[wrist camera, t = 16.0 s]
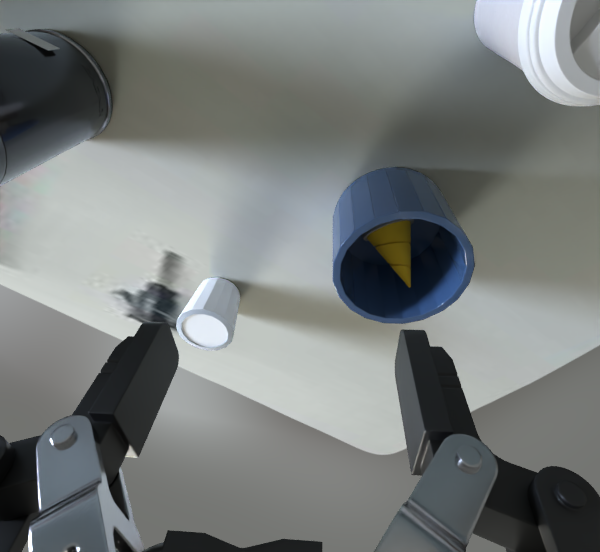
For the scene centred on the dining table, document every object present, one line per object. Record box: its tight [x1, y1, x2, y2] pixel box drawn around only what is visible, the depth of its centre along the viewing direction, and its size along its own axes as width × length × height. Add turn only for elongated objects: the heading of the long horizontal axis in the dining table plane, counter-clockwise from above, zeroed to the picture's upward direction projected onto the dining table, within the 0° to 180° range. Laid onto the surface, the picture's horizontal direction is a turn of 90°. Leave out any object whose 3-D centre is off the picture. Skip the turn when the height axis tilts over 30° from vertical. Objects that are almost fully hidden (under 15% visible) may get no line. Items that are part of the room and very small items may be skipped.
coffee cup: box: [474, 0, 600, 106], centre depth 23 cm, size 10×10×15 cm
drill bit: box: [362, 219, 414, 288], centre depth 37 cm, size 5×5×10 cm
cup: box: [333, 167, 475, 324], centre depth 37 cm, size 12×12×10 cm
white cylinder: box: [176, 277, 240, 350], centre depth 46 cm, size 7×7×7 cm
